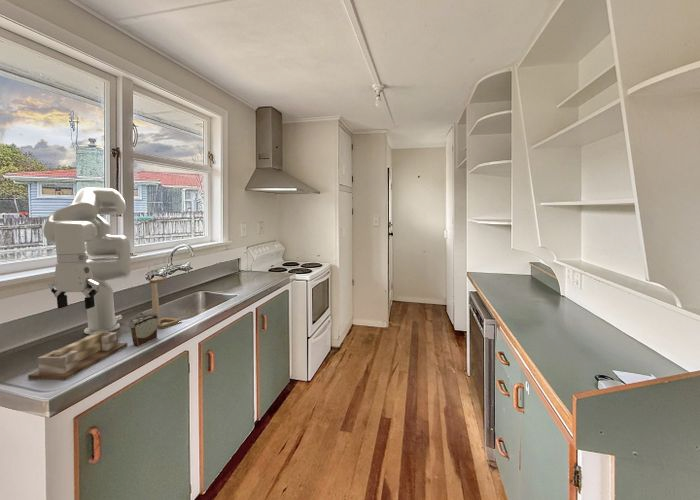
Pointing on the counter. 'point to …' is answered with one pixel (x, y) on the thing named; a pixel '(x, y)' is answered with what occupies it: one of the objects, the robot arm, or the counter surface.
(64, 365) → the board
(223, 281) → the counter surface
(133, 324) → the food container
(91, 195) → the robot arm
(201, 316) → the counter surface
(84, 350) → the slat
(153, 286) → the headphone stand
